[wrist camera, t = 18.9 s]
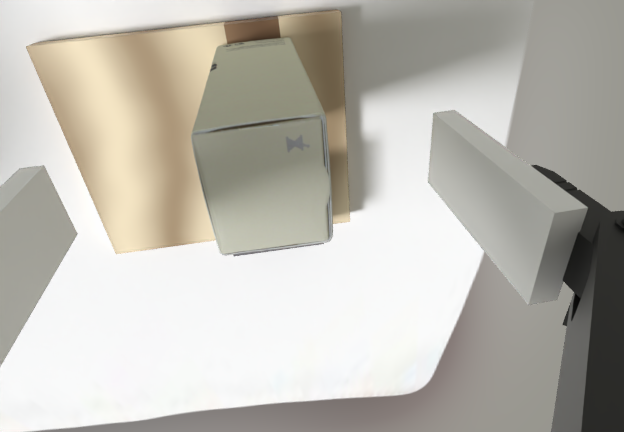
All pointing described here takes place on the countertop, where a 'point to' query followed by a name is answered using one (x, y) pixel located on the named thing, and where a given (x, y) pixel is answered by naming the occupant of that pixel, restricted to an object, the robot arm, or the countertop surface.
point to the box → (263, 150)
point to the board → (171, 117)
